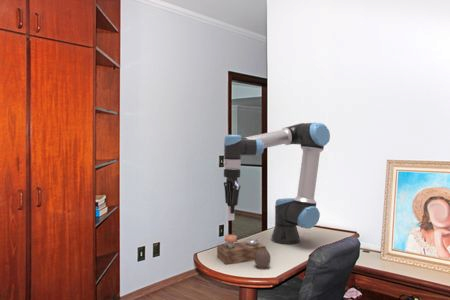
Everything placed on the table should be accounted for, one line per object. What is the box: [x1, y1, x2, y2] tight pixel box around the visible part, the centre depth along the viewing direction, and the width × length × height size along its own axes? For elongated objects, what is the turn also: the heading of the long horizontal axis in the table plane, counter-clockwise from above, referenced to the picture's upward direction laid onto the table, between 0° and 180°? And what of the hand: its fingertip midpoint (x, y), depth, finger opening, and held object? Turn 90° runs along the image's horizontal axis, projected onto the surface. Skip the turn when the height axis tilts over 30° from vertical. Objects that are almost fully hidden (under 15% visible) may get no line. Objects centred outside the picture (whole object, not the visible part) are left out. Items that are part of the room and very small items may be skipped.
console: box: [216, 241, 266, 266], centre depth 169 cm, size 20×10×6 cm, turn 114°
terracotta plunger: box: [224, 234, 238, 248], centre depth 167 cm, size 6×6×6 cm
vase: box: [254, 245, 271, 269], centre depth 159 cm, size 7×7×9 cm
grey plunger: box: [245, 238, 259, 246], centre depth 172 cm, size 6×6×6 cm
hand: (230, 219), depth 166 cm, fingers closed
